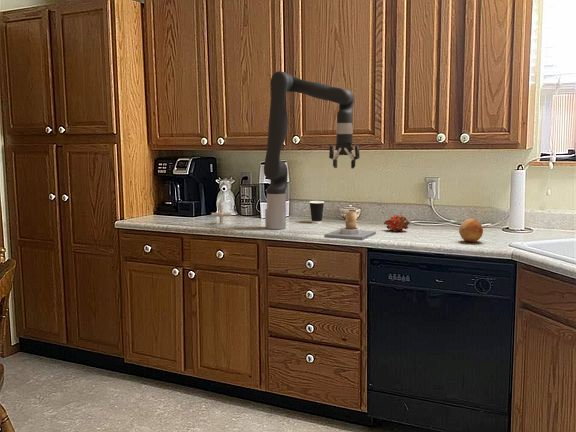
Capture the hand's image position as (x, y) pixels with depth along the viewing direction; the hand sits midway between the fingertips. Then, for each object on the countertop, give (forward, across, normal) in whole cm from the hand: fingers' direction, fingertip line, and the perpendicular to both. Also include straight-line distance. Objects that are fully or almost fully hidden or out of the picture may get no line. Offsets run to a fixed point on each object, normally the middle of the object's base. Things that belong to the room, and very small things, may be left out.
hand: (344, 168), depth 281 cm
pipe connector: (+30, -67, -3) cm, 74 cm away
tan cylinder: (+29, +7, -9) cm, 31 cm away
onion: (+30, +59, -3) cm, 66 cm away
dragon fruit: (+30, +22, +12) cm, 39 cm away
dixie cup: (+30, -24, +22) cm, 44 cm away
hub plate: (+30, +7, -9) cm, 32 cm away
